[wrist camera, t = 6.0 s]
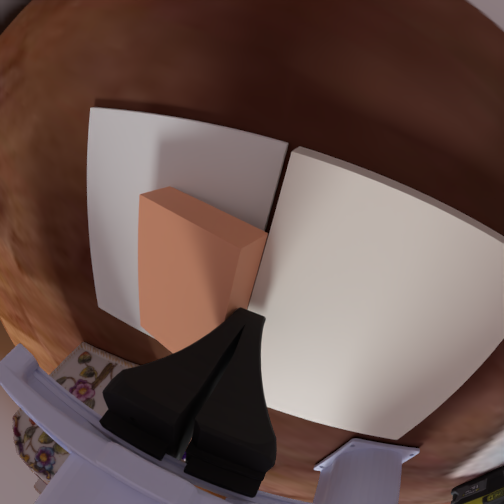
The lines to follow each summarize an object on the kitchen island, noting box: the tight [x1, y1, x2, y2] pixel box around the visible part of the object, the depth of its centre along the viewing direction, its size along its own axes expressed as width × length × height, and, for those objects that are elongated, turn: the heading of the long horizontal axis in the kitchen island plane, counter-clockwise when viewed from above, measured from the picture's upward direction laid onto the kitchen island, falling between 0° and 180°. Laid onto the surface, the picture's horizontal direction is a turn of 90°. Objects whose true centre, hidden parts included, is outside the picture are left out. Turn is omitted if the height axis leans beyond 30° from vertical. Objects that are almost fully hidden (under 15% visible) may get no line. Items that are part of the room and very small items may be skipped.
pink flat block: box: [138, 186, 268, 353], centre depth 15 cm, size 9×6×2 cm, turn 168°
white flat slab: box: [247, 146, 504, 440], centre depth 14 cm, size 16×14×2 cm
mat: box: [87, 107, 289, 338], centre depth 17 cm, size 16×12×1 cm
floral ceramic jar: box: [13, 342, 140, 494], centre depth 20 cm, size 12×12×18 cm
